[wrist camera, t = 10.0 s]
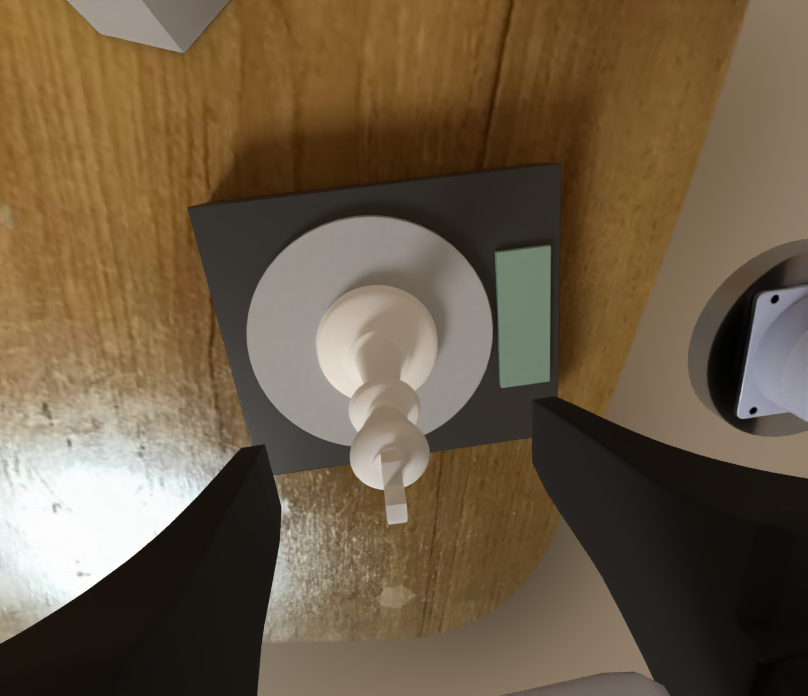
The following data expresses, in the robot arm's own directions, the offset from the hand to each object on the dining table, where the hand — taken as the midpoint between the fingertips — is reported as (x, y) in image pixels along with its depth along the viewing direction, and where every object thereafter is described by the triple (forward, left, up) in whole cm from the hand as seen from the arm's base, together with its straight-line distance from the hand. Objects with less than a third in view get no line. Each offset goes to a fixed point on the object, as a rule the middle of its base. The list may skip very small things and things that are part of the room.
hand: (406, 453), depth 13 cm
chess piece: (0, 0, -8) cm, 8 cm away
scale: (0, 0, -10) cm, 10 cm away
